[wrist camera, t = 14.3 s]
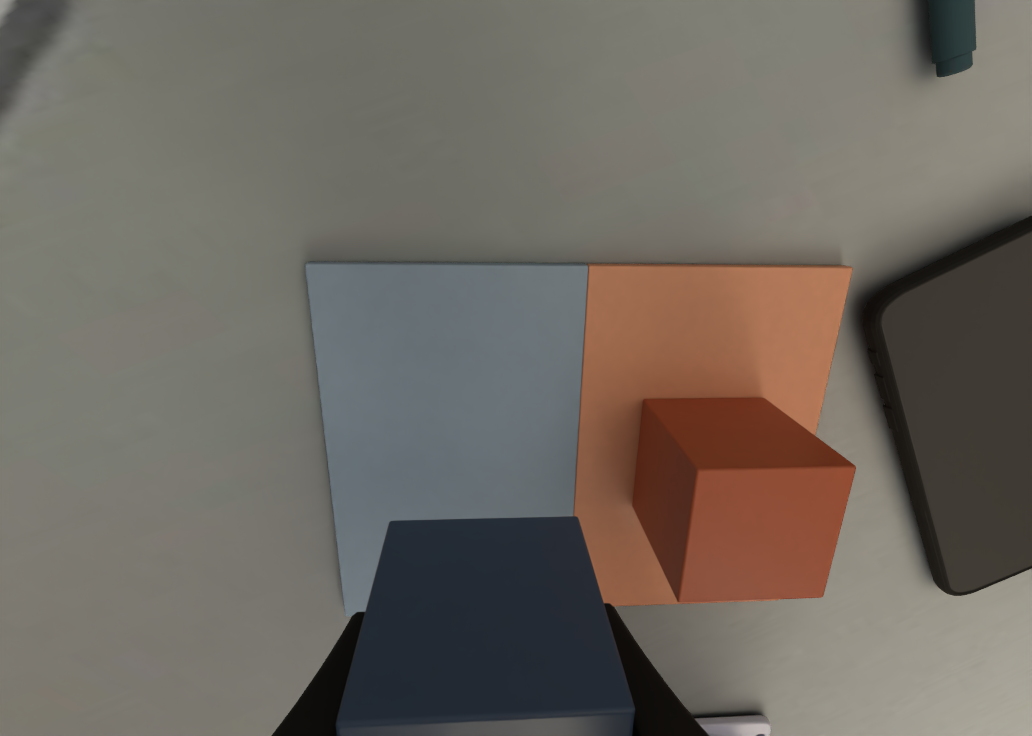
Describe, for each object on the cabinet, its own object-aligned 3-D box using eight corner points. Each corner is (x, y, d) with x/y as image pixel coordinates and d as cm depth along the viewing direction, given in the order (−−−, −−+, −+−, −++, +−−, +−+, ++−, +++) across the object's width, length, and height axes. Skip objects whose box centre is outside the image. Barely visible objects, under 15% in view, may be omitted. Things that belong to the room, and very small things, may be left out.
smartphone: (946, 607, 23) (865, 305, 17) (929, 591, 23) (846, 298, 18) (1118, 534, 22) (1086, 197, 17) (1094, 521, 23) (1055, 195, 18)
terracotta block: (744, 503, 21) (823, 598, 16) (631, 506, 20) (677, 604, 16) (764, 396, 19) (857, 466, 14) (642, 397, 19) (697, 469, 14)
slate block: (568, 657, 14) (614, 894, 9) (399, 664, 14) (358, 912, 9) (578, 514, 13) (636, 710, 8) (388, 519, 12) (333, 725, 8)
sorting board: (772, 592, 23) (779, 600, 22) (347, 607, 22) (344, 617, 21) (844, 265, 18) (853, 267, 18) (308, 261, 17) (304, 263, 16)
